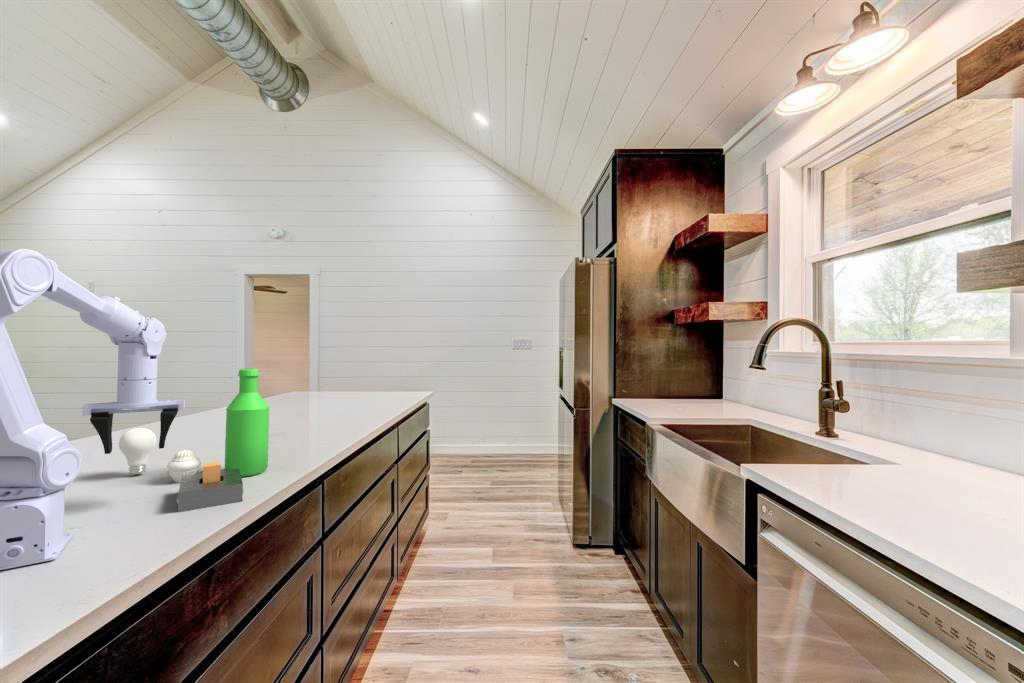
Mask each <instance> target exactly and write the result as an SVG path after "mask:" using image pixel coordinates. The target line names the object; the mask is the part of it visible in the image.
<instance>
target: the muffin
mask: <svg viewBox="0 0 1024 683" xmlns="http://www.w3.org/2000/svg"><path fill="white" fill-rule="evenodd" d="M201 464H202V461H201V459H200V458H198V457H197V456H196V455H195V451H193V450H191V449H186V448H185V449H182V450H178V451H177V452H176V453H175V454H174V455H173V458H172V459H171V461H170V462H168V464H167V465H166V469H167V471H168V474H169V475H170V477H171V478H172V480H173V481H174V482H176V483H181V478H182V476H186V475H193V474H198V473H197V472H198V471H199V469H200V466H201Z"/></svg>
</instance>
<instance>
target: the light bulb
mask: <svg viewBox="0 0 1024 683" xmlns="http://www.w3.org/2000/svg"><path fill="white" fill-rule="evenodd" d="M156 445H157V436H156V434H155V432H154V431H152V430H151V429H149V428H146V427H135V428H131V429H129V430H127V431H126V432H124V433H123V434H122V435H121V437H120V438H119V440H118V448H119V450H120V452H121V453H122V454H123V456H124V457H125V459H126V460H127V465H128V466H129V468H128V474H130V475H132V476H133V475H134V476H139V475H141V474H144V473H145V472H146V466H147V465H146V464H147V463H148V458H149V456H150V454H151V453H152V452H153V450H154V448H155V447H156Z"/></svg>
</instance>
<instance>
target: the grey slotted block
mask: <svg viewBox="0 0 1024 683" xmlns="http://www.w3.org/2000/svg"><path fill="white" fill-rule="evenodd" d="M179 483H180V484H179V489H178V494H177V495H178V496H177V498H176V505H177V512H178V513H180V512H185V511H186V512H187V511H191V510H197V509H203V508H210V507H216V506H222V505H227V504H229V505H230V504H234V503H239V502H243V496H244V483H243V477H241V474H240V469H232V470H225V469H224V470H221V469H220V481H217V482H210V483H203V471H202V472H200V473H196V474H193V475H186V476H182V478H181V482H179Z"/></svg>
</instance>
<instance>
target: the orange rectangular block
mask: <svg viewBox="0 0 1024 683" xmlns="http://www.w3.org/2000/svg"><path fill="white" fill-rule="evenodd" d="M202 466H203V468H202V472H203V483H210V482H217V481H220V470H221V461H216V462H215V461H214V462H206V463H203V465H202Z"/></svg>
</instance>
